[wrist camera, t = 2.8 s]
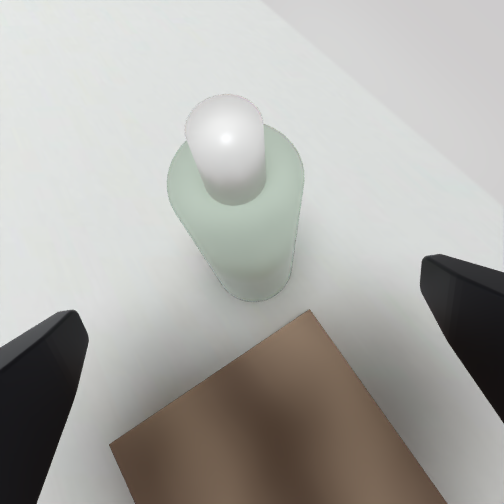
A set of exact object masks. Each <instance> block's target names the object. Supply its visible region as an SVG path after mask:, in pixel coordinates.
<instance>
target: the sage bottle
mask: <svg viewBox="0 0 504 504" xmlns="http://www.w3.org/2000/svg"><path fill="white" fill-rule="evenodd" d="M185 137H186V141H185V143H184V144H183V145H182V146H181V147H180V148H179V150H178V151H177V152H176V154H175V156H174V158H173V160H172V162H171V165H170V167H169V171H168V176H167V192H168V197H169V200H170V203H171V206H172V208H173V210H174V212H175V213H176V215H177V216H178V218H179V220H180V221H181V223H182V224H183V226H184V227H185V229H186V230H187V232H188V233H189V235H190V236H191V238H192V239H193V241H194V243H195V244H196V246H197V247H198V249H199V250H200V252H201V253H202V255H203V256H204V258H205V259H206V261H207V263H208V264H209V266H210V267H211V269H212V270H213V272H214V273H215V275H216V276H217V278H218V279H219V281H220V282H221V284H222V285H223V287H224V288H225V289H226V290H227V291H228V292H229V293H230V294H231V295H233V296H234V297H236V298H238V299H241V300H244V301H250V302H257V301H263V300H267V299H269V298H271V297H273V296H275V295H276V294H277V293H279V292H280V291H281V290H282V289H283V288H284V286H285V285H286V283H287V281H288V279H289V277H290V273H291V268H292V262H293V255H294V248H295V241H296V235H297V228H298V221H299V214H300V208H301V201H302V194H303V187H304V169H303V164H302V161H301V158H300V155H299V153H298V152H297V150H296V148H295V147H294V145H293V144H292V143H291V142H290V141H289V139H288V138H287V137H285V136H284V135H283V134H282V133H281V132H279V131H277V130H276V129H274V128H272V127H270V126H268V125H266V124H263V118H262V115H261V113H260V111H259V109H258V108H257V107H256V106H255V105H254V104H253V103H252V102H251V101H249V100H248V99H246V98H244V97H241V96H238V95H232V94H222V95H216V96H212V97H210V98H207V99H205V100H203V101H202V102H200V103H199V104H198V105H197V106H195V107H194V109H193V110H192V111H191V112H190V114H189V115H188V117H187V120H186V123H185Z"/></svg>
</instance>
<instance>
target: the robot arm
mask: <svg viewBox="0 0 504 504" xmlns="http://www.w3.org/2000/svg"><path fill="white" fill-rule="evenodd" d="M420 289H421V292H422V295H423V296H424V298H425V300H426V302H427V304H428V306H429V308H430V310H431V312H432V313H433V315H434V317H435V319H436V321H437V323H438V325H439V327H440V329H441V330H442V332H443V334H444V336H445V338H446V339H447V341H448V343H449V344H450V346H451V347H452V349H453V350H454V352H455V353H456V355H457V356H458V358H459V359H460V360H461V362H462V363H463V365H464V366H465V368H466V369H467V371H468V372H469V374H470V375H471V376H472V378H473V379H474V381H475V382H476V384H477V385H478V387H479V388H480V390H481V391H482V392H483V394H484V395H485V397H486V398H487V400H488V401H489V403H490V404H491V405H492V407H493V408H494V410H495V411H496V413H497V414H498V416H499V417H500V419H501V420H502V421H503V423H504V272H500V271H497V270H494V269H490V268H487V267H483V266H480V265H476V264H473V263H470V262H466V261H463V260H459V259H456V258H453V257H449V256H446V255H442V254H436V255H430V256H425V257H424V258H423V260H422V264H421V276H420ZM88 342H89V339H88V334H87V331H86V329H85V327H84V325H83V323H82V320H81V318H80V316H79V314H78V313H77V311H75V310H67V311H60V312H57V313H56V314H54V315H52V316H51V317H49V318H47V319H46V320H44V321H43V322H41V323H39V324H38V325H36V326H35V327H33V328H31V329H30V330H28V331H26V332H25V333H23V334H22V335H20V336H18V337H17V338H15V339H14V340H12V341H10V342H9V343H7V344H5V345H4V346H2V347H1V348H0V504H37V501H38V498H39V495H40V493H41V490H42V487H43V484H44V482H45V479H46V476H47V473H48V471H49V468H50V465H51V462H52V460H53V457H54V454H55V451H56V449H57V446H58V443H59V440H60V437H61V435H62V432H63V429H64V426H65V424H66V421H67V418H68V415H69V413H70V410H71V407H72V404H73V401H74V398H75V395H76V392H77V388H78V384H79V380H80V376H81V372H82V368H83V363H84V359H85V355H86V351H87V347H88Z"/></svg>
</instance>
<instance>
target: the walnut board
mask: <svg viewBox="0 0 504 504" xmlns="http://www.w3.org/2000/svg"><path fill="white" fill-rule="evenodd" d="M109 446H110V448H111V450H112V453H113V455H114V457H115V459H116V462H117V464H118V466H119V468H120V471H121V473H122V475H123V477H124V479H125V482H126V484H127V486H128V488H129V491H130V493H131V495H132V497H133V500H134V502H135V504H447V502H446V501H445V500H444V498H443V497H442V495H441V494H440V493H439V491H438V490H437V488H436V487H435V485H434V484H433V483H432V481H431V480H430V478H429V477H428V476H427V474H426V473H425V471H424V470H423V469H422V467H421V466H420V464H419V463H418V461H417V460H416V459H415V457H414V456H413V454H412V453H411V452H410V450H409V449H408V447H407V446H406V445H405V443H404V442H403V440H402V439H401V437H400V436H399V435H398V433H397V432H396V430H395V429H394V428H393V426H392V425H391V423H390V422H389V421H388V419H387V418H386V416H385V415H384V413H383V412H382V411H381V409H380V408H379V406H378V405H377V404H376V402H375V401H374V399H373V398H372V397H371V395H370V394H369V392H368V391H367V389H366V388H365V387H364V385H363V384H362V382H361V381H360V380H359V378H358V377H357V375H356V374H355V373H354V371H353V370H352V368H351V367H350V365H349V364H348V363H347V361H346V360H345V358H344V357H343V356H342V354H341V353H340V351H339V350H338V349H337V347H336V346H335V344H334V343H333V341H332V340H331V339H330V337H329V336H328V334H327V333H326V332H325V330H324V329H323V327H322V326H321V324H320V323H319V322H318V320H317V319H316V317H315V316H314V315H313V313H312V312H311V310H310V309H309V310H308V311H306V312H305V313H303V314H302V315H300V316H299V317H297V318H296V319H294V320H293V321H291V322H290V323H288V324H287V325H285V326H284V327H283V328H281V329H280V330H278V331H277V332H275V333H274V334H272V335H271V336H269V337H268V338H266V339H265V340H263V341H262V342H260V343H259V344H257V345H256V346H254V347H253V348H251V349H250V350H248V351H247V352H245V353H244V354H243V355H241V356H240V357H238V358H237V359H235V360H234V361H232V362H231V363H229V364H228V365H226V366H225V367H223V368H222V369H220V370H219V371H217V372H216V373H214V374H213V375H211V376H210V377H208V378H207V379H206V380H204V381H203V382H201V383H200V384H198V385H197V386H195V387H194V388H192V389H191V390H189V391H188V392H186V393H185V394H183V395H182V396H180V397H179V398H177V399H176V400H174V401H173V402H171V403H170V404H168V405H167V406H166V407H164V408H163V409H161V410H160V411H158V412H157V413H155V414H154V415H152V416H151V417H149V418H148V419H146V420H145V421H143V422H142V423H140V424H139V425H137V426H136V427H134V428H133V429H131V430H130V431H128V432H127V433H126V434H124V435H123V436H121V437H120V438H118V439H117V440H115V441H114V442H112V443H111V444H109Z"/></svg>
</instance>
